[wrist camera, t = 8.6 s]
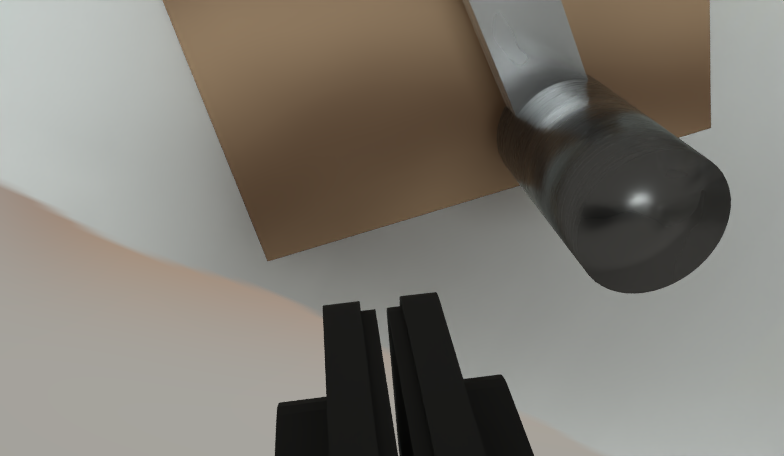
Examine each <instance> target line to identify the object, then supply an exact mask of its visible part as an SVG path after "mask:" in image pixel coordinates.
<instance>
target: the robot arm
mask: <svg viewBox="0 0 784 456" xmlns="http://www.w3.org/2000/svg"><path fill="white" fill-rule="evenodd" d="M387 320H388V332H389V343H390V355H391V366H392V378H393V389H394V400H395V411H396V423H397V435H398V445H399V454H400V456H534V454H533V452H532V449H531V446H530V443H529V441H528V438H527V436H526V433H525V430H524V428H523V425H522V422H521V420H520V417H519V414H518V412H517V409H516V406H515V404H514V401H513V398H512V396H511V393H510V391H509V388H508V385H507V383H506V381H505V379H504V377H503V376H502V375H501V374H500V375H492V376H485V377H477V378H469V379H463V377H462V374H461V370H460V367H459V364H458V360H457V357H456V354H455V350H454V347H453V344H452V340H451V337H450V334H449V330H448V327H447V323H446V320H445V317H444V313H443V310H442V307H441V303H440V300H439V297H438V294H437V293H436V292H433V293H424V294H416V295H408V296H400V306H399V307H390V308H387ZM323 326H324V347H325V370H326V371H325V372H326V394H327V397H321V398H314V399H305V400H297V401H289V402H282V403H279V404H278V407H277V420H276V442H275V456H398V453H397V446H396V439H395V433H394V427H393V421H392V414H391V407H390V401H389V395H388V388H387V382H386V375H385V369H384V362H383V356H382V350H381V343H380V337H379V330H378V324H377V318H376V311H375V309H374V310H365V311H361V310H360V302H359V301H358V302H349V303H341V304H333V305H324V306H323Z"/></svg>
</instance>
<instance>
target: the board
mask: <svg viewBox="0 0 784 456" xmlns="http://www.w3.org/2000/svg"><path fill="white" fill-rule="evenodd" d="M561 1H562V4H563V7H564V10H565V13H566V16H567V19H568V22H569V25H570V28H571V31H572V34H573V37H574V40H575V43H576V46H577V49H578V52H579V55H580V58H581V61H582V64H583V67H584V70H585V73H586V74H588V75H590V76H592V77H593V78H595V79H596V80H598V81H599V82H600V83H602V84H603V85H605V86H606V87H607V88H609V89H610V90H612V91H613V92H614V93H616V94H617V95H619V96H620V97H621V98H623V99H624V100H626V101H627V102H628V103H630V104H631V105H633V106H634V107H635V108H637V109H638V110H640V111H641V112H643V113H644V114H645V115H647V116H648V117H650V118H651V119H652V120H654V121H655V122H657V123H658V124H659V125H661V126H662V127H664V128H665V129H666V130H668V131H669V132H671V133H672V134H673V135H675V136H676V137H678V138H679V137H682V136H686V135H689V134H692V133H696V132H699V131H702V130H705V129H709V128H711V96H710V0H561ZM163 3H164V5H165V8H166V10H167V12H168V15H169V17H170V20H171V22H172V25H173V27H174V30H175V32H176V35H177V37H178V40H179V42H180V45H181V47H182V50H183V52H184V55H185V57H186V60H187V62H188V65H189V67H190V70H191V72H192V75H193V77H194V80H195V82H196V85H197V87H198V90H199V92H200V94H201V97H202V99H203V102H204V104H205V107H206V109H207V112H208V114H209V117H210V119H211V122H212V124H213V127H214V129H215V132H216V134H217V137H218V139H219V142H220V144H221V147H222V149H223V152H224V154H225V157H226V159H227V162H228V164H229V167H230V169H231V172H232V174H233V176H234V179H235V181H236V184H237V186H238V189H239V191H240V194H241V196H242V199H243V201H244V204H245V206H246V209H247V211H248V214H249V216H250V219H251V221H252V224H253V226H254V229H255V231H256V234H257V236H258V239H259V241H260V244H261V246H262V249H263V251H264V254H265V256H266V259H267V261H271V260H274V259H277V258H281V257H284V256H287V255H291V254H294V253H297V252H301V251H304V250H307V249H311V248H314V247H317V246H321V245H324V244H327V243H331V242H334V241H337V240H341V239H344V238H347V237H350V236H354V235H357V234H360V233H364V232H367V231H370V230H374V229H377V228H380V227H384V226H387V225H390V224H394V223H397V222H400V221H404V220H407V219H410V218H413V217H417V216H420V215H423V214H427V213H430V212H433V211H437V210H440V209H443V208H447V207H450V206H453V205H457V204H460V203H463V202H467V201H470V200H473V199H477V198H480V197H483V196H486V195H490V194H493V193H496V192H500V191H503V190H506V189H510V188H513V187H516V186H520V184H519V183H518V182H517V180H516V179H515V178H514V176H513V175H512V174H511V172H510V171H509V170H508V168H507V167H506V166H505V164H504V163H503V161H502V159H501V157H500V154H499V151H498V146H497V128H498V123H499V120H500V117H501V114H502V112H503V110H504V108H505V106H506V105H505V103H504V100H503V98H502V95H501V93H500V90H499V88H498V86H497V83H496V81H495V78H494V76H493V73H492V71H491V68H490V66H489V64H488V61H487V59H486V56H485V54H484V51H483V49H482V47H481V44H480V42H479V39H478V37H477V34H476V32H475V30H474V27H473V25H472V22H471V20H470V17H469V15H468V13H467V10H466V8H465V5H464V3H463V0H163Z"/></svg>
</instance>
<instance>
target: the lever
mask: <svg viewBox="0 0 784 456" xmlns="http://www.w3.org/2000/svg"><path fill="white" fill-rule="evenodd" d="M463 3H464V5H465V8H466V10H467V13H468V15H469V17H470V20H471V22H472V25H473V27H474V30H475V32H476V34H477V37H478V39H479V42H480V44H481V47H482V49H483V51H484V54H485V56H486V59H487V61H488V64H489V66H490V68H491V71H492V73H493V76H494V78H495V81H496V83H497V86H498V88H499V90H500V93H501V95H502V98H503V100H504V103H505V105H506V106H505V108H504V110H503V112H502V114H501V117H500V120H499V123H498V128H497V146H498V151H499V154H500V157H501V159H502V161H503V163H504V164H505V166H506V167H507V168H508V170H509V171H510V172H511V174H512V175H513V176H514V178H515V179H516V180H517V182H518V183H519V184H520V185H521V187H522V188H523V189H524V191H525V192H526V193H527V195H528V196H529V197H530V199H531V200H532V201H533V203H534V204H535V205H536V206H537V208H538V209H539V210H540V212H541V213H542V214H543V216H544V217H545V218H546V220H547V221H548V222H549V224H550V225H551V226H552V227H553V229H554V230H555V231H556V233H557V234H558V235H559V237H560V238H561V239H562V241H563V242H564V243H565V245H566V246H567V247H568V248H569V250H570V251H571V252H572V254H573V255H574V256H575V258H576V259H577V260H578V262H579V263H580V264H581V265H582V267H583V268H584V269H585V271H586V272H587V273H588V275H589V276H590V277H591V278H592V279H593V280H594V281H595V282H597V283H598V284H600V285H601V286H603V287H605V288H607V289H610V290H613V291H616V292H622V293H645V292H650V291H655V290H658V289H661V288H664V287H666V286H669V285H671V284H673V283H675V282H677V281H679V280H681V279H682V278H684V277H685V276H687V275H688V274H690V273H691V272H692V271H694V270H695V269H696V268H697V267H699V266H700V265H701V264H702V263H703V262H704V261H705V260H706V259H707V257H708V256H709V255H710V254H711V253H712V251H713V250H714V249H715V247H716V246H717V244H718V243H719V241H720V239H721V237H722V235H723V233H724V231H725V228H726V226H727V223H728V219H729V215H730V208H731V196H730V190H729V186H728V183H727V181H726V179H725V177H724V175H723V173H722V172H721V171H720V170H719V168H718V167H717V166H716V165H715V164H714V163H712V162H711V161H710V160H708V159H707V158H706V157H704V156H703V155H701V154H700V153H699V152H697V151H696V150H694V149H693V148H692V147H690V146H689V145H687V144H686V143H685V142H683V141H682V140H680V139H679V138H678V137H676V136H675V135H673V134H672V133H671V132H669V131H668V130H666V129H665V128H664V127H662V126H661V125H659V124H658V123H657V122H655V121H654V120H652V119H651V118H650V117H648V116H647V115H645V114H644V113H643V112H641V111H640V110H638V109H637V108H635V107H634V106H633V105H631V104H630V103H628V102H627V101H626V100H624V99H623V98H621V97H620V96H619V95H617V94H616V93H614V92H613V91H612V90H610V89H609V88H607V87H606V86H605V85H603V84H602V83H600V82H599V81H598V80H596V79H595V78H593V77H592V76H590V75H588V74H586V73H585V70H584V67H583V64H582V61H581V58H580V55H579V52H578V49H577V46H576V43H575V40H574V37H573V34H572V31H571V28H570V25H569V22H568V19H567V16H566V13H565V10H564V7H563V4H562V1H561V0H463Z"/></svg>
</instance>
